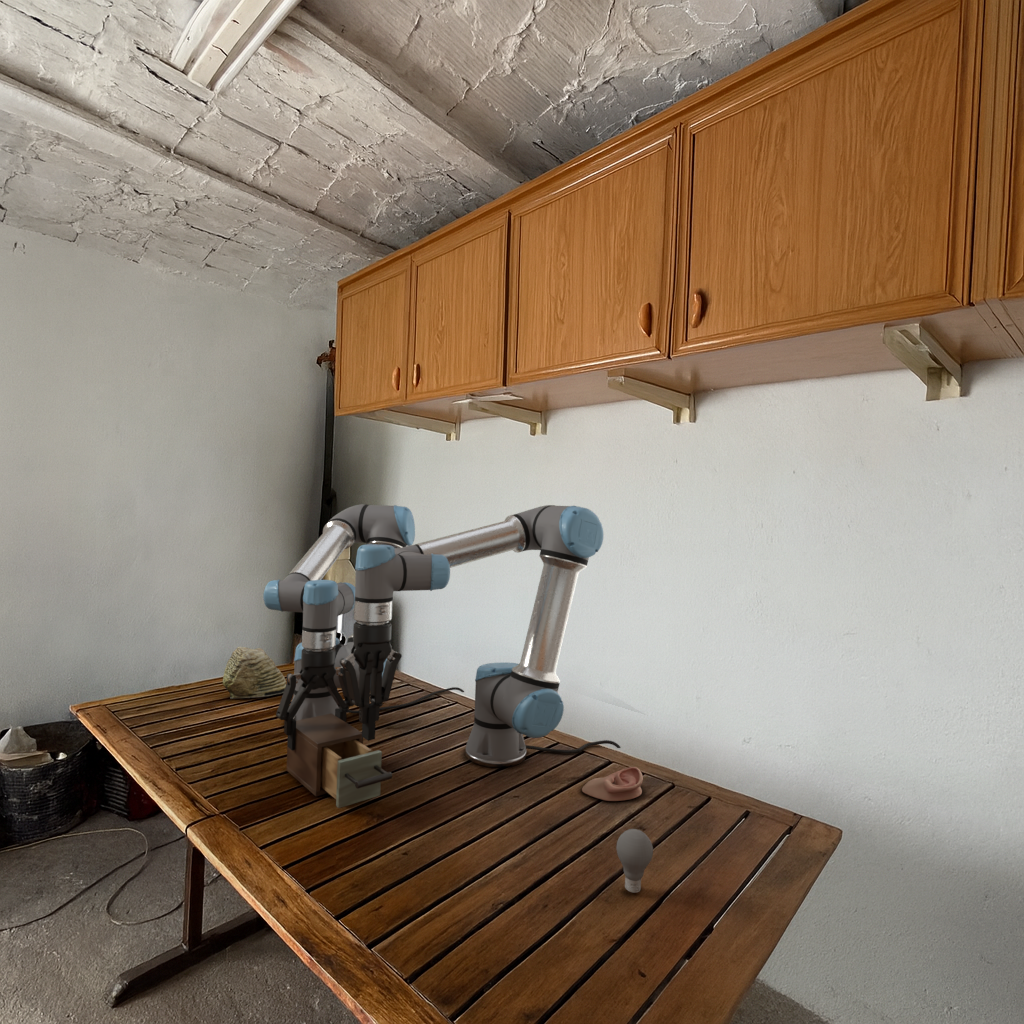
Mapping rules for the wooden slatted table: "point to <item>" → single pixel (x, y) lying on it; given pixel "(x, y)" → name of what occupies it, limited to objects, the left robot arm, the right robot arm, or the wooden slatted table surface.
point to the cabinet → (316, 747)
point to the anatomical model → (616, 785)
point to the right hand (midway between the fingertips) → (368, 737)
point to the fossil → (252, 674)
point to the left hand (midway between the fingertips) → (315, 742)
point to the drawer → (351, 772)
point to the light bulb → (634, 857)
